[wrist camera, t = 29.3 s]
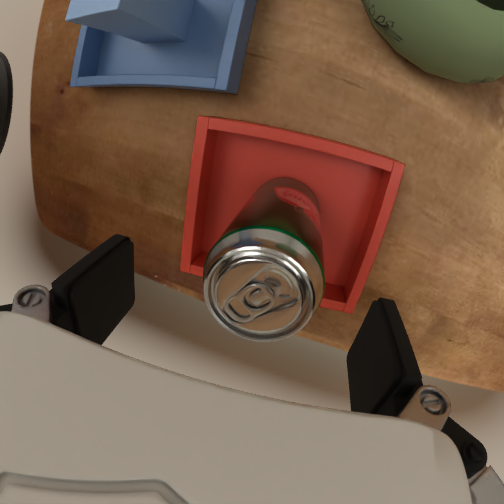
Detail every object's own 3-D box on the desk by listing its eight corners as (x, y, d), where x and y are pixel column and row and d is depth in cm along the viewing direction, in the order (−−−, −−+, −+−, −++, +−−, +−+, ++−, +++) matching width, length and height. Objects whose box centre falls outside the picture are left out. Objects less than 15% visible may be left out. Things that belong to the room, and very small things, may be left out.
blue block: (140, 42, 18) (64, 21, 10) (151, 1, 16) (82, -34, 8) (185, 41, 18) (117, 9, 10) (195, -2, 16) (137, -50, 8)
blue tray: (91, 87, 21) (69, 86, 18) (117, -23, 16) (99, -33, 13) (237, 94, 20) (226, 90, 17) (265, -34, 14) (259, -52, 12)
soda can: (332, 217, 22) (350, 315, 11) (278, 253, 24) (248, 364, 13) (291, 161, 20) (269, 207, 10) (237, 202, 22) (169, 281, 12)
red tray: (193, 254, 26) (180, 270, 23) (212, 116, 21) (197, 115, 18) (348, 293, 24) (352, 314, 22) (393, 158, 19) (405, 164, 17)
